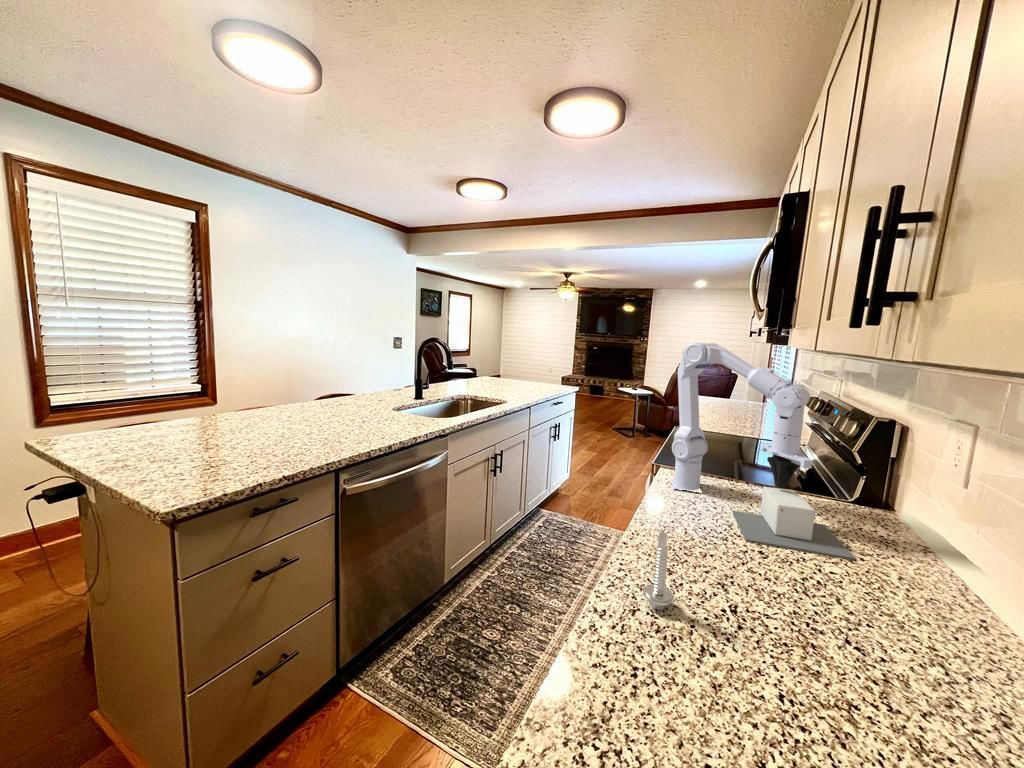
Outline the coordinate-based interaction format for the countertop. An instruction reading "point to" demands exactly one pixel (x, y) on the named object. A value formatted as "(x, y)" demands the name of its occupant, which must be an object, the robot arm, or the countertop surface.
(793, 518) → the supplement box
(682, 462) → the robot arm
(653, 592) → the screw
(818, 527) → the mat
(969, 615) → the countertop surface
